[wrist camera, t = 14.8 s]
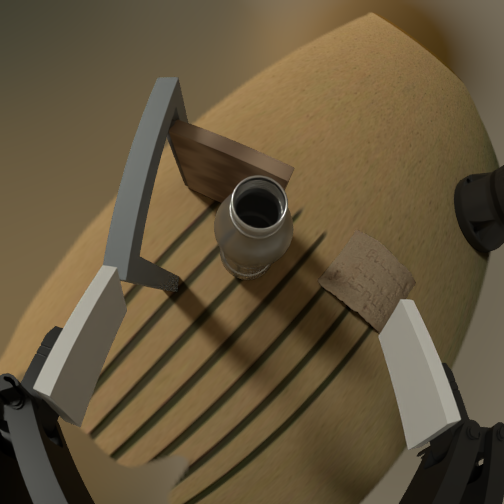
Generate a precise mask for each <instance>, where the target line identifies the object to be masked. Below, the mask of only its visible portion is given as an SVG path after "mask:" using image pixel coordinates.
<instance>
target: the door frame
mask: <svg viewBox="0 0 504 504" xmlns="http://www.w3.org/2000/svg"><path fill="white" fill-rule="evenodd" d="M172 119H173V120H174V121H176V120H177V119H178V120H180V121H183V122H186V123H188V119H187V115H186V110H185V106H184V101H183V97H182V93H181V88H180V83H179V78H177V77H170V78H158V79H157V81H156V83H155V85H154V88H153V90H152V93H151V95H150V98H149V100H148V103H147V105H146V108H145V110H144V113H143V115H142V118H141V121H140V124H139V126H138V129H137V132H136V135H135V138H134V141H133V144H132V147H131V150H130V153H129V156H128V160H127V163H126V166H125V170H124V173H123V177H122V180H121V184H120V188H119V191H118V195H117V199H116V203H115V207H114V212H113V216H112V221H111V225H110V230H109V235H108V240H107V245H106V251H105V256H104V262H103V265H105V266H112V267H117V269H118V274H119V279H120V281H124V282H129V283H133V284H137V285H142V286H146V287H151V288H156V289H160V290H166V291H173V292H177V289H178V281H179V276H177V275H175V274H173V273H171V272H169V271H167V270H165V269H163V268H161V267H159V266H157V265H155V264H153V263H151V262H149V261H147V260H145V259H144V258H142V257H140V250H141V244H142V239H143V233H144V228H145V223H146V218H147V213H148V208H149V204H150V199H151V195H152V190H153V186H154V182H155V178H156V174H157V170H158V166H159V162H160V158H161V155H162V151H163V148H164V144H165V141H166V137H167V134H168V130H169V127H170V124H171V121H172Z"/></svg>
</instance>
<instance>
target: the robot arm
mask: <svg viewBox="0 0 504 504" xmlns="http://www.w3.org/2000/svg"><path fill="white" fill-rule="evenodd" d="M454 205H455V211H456V216H457V219H458V223H459V225H460V228H461V230H462V232H463V234H464V236H465V237H466V239H467V240H468V242H469V243H470V244H471V245H472V246H473V247H474V248H475V249H476V250H478V251H480V252H489V251H493V250H495V249H497V248H499V247H500V246H501V245H502V244H503V243H504V165H503V166H502V167H500V168H498V169H497V170H495V171H493V172H490V173H481V174H472V175H469V176H467V177H465V178H463V179H462V180H460V181H459V183H458V184H457V186H456V189H455V194H454ZM126 312H127V308H126V304H125V300H124V296H123V292H122V287H121V283H120V279H119V274H118V269H117V267H112V266H105V265H103V266H102V267H101V269H100V270H99V271H98V273H97V274H96V276H95V277H94V279H93V281H92V282H91V284H90V285H89V287H88V288H87V290H86V291H85V293H84V295H83V296H82V298H81V299H80V301H79V303H78V304H77V306H76V308H75V309H74V311H73V313H72V314H71V316H70V318H69V319H68V321H67V323H66V325H65V326H64V328H60V327H57V326H55V327H54V328H53V329H52V330H50V331H49V332H48V333H47V334H46V336H45V338H44V339H43V341H42V343H41V346H40V347H39V348H38V350H37V354H35V356H34V358H33V360H32V362H31V364H30V366H29V368H28V370H27V372H26V374H25V376H24V378H23V380H22V381H21V383H20V382H19V381H18V380H17V379H16V378H15V377H14V376H13V375H11V374H9V373H7V374H2V375H0V504H95V503H94V501H93V500H92V498H91V496H90V494H89V492H88V490H87V488H86V486H85V485H84V482H83V480H82V478H81V476H80V474H79V472H78V470H77V468H76V465H75V463H74V461H73V459H72V456H71V454H70V452H69V449H68V447H67V444H66V441H65V439H64V436H63V434H62V431H61V428H60V425H59V423H58V421H57V420H58V417H59V416H60V417H61V418H62V419H63V420H65V421H66V422H69V423H71V424H73V425H76V426H78V427H81V424H82V421H83V418H84V415H85V412H86V410H87V407H88V404H89V401H90V398H91V396H92V393H93V390H94V388H95V385H96V382H97V380H98V377H99V375H100V372H101V369H102V367H103V364H104V362H105V360H106V357H107V355H108V352H109V350H110V348H111V345H112V343H113V341H114V338H115V336H116V334H117V331H118V329H119V327H120V325H121V322H122V320H123V318H124V316H125V314H126ZM378 337H379V340H380V343H381V346H382V349H383V353H384V356H385V359H386V363H387V366H388V369H389V373H390V376H391V380H392V384H393V387H394V391H395V395H396V399H397V403H398V407H399V411H400V415H401V419H402V424H403V428H404V433H405V438H406V442H407V447H408V450H410V449H414V448H418V447H421V446H423V445H425V444H426V443H428V442H430V446H429V447H427V448H425V449H424V450H422V451H421V452H419V453H418V455H417V456H421V455H422V454H424V453H425V454H424V456H422V457H421V459H422V461H421V463H420V465H419V467H418V470H417V471H416V473H415V475H414V477H413V479H412V481H411V483H410V485H409V486H408V489H407V490H406V492H405V494H404V495H403V497H402V499H401V501H400V502H399V504H502V502H503V497H504V424H503V423H502V422H498V423H497V424H495V425H494V426H493V427H491V428H487V427H480V426H479V424H478V423H477V422H476V421H474V420H470V419H469V417H468V415H467V412H466V409H465V406H464V403H463V400H462V397H461V394H460V391H459V390H458V386H457V384H456V383H455V378H454V376H453V373H452V371H451V369H450V368H449V367H448V365H447V364H446V363H441V361H440V359H439V356H438V354H437V351H436V349H435V347H434V344H433V342H432V340H431V337H430V335H429V333H428V331H427V329H426V326H425V324H424V322H423V320H422V318H421V316H420V314H419V312H418V309H417V307H416V305H415V303H414V301H413V300H406V299H401V300H400V301H399V303H398V305H397V307H396V308H395V310H394V312H393V313H392V315H391V317H390V318H389V320H388V322H387V323H386V325H385V327H384V328H383V330H382V331H381V333H380V335H379V336H378ZM482 459H484V461H483V464H482V465H480V466H479V464H478V462H479V461H480V460H482Z"/></svg>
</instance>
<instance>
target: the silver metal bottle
mask: <svg viewBox="0 0 504 504" xmlns="http://www.w3.org/2000/svg"><path fill="white" fill-rule="evenodd" d="M214 232H215V237H216V240H217V242H218V245H219V247H220V248H221V249H220V256H221V260H222V263H223V265H224V267H225V268H226V270H227V271H228V272H229V273H230V274H232V275H233V276H235V277H237V278H239V279H244V280H252V279H256V278H258V277H260V276H262V275H263V274H264V273H265V272H266V271H267V270H268V269H269V267H270V266H271V264H272V263H274V262H275V261H277V260H278V259H279V258H281V257H282V256H283V254H284V253H285V252H286V251H287V249H288V247H289V246H290V243H291V240H292V237H293V221H292V217H291V214H290V211H289V209H288V199H287V196H286V193H285V191H284V189H283V188H282V187H281V185H280V184H279V183H278V182H276V181H275V180H273V179H272V178H269V177H267V176H262V175H255V176H250V177H248V178H245V179H244V180H242V181H241V182H240V183H239V184H238V185H237V186H236V187H235V189H234V191H233V193H232V194H230V195H229V196H228V197H227V198H226V199H225V200H224V201H223V202H222V204H221V205H220V207H219V208H218V211H217V213H216V216H215V221H214Z"/></svg>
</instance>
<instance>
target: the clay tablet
mask: <svg viewBox="0 0 504 504" xmlns="http://www.w3.org/2000/svg"><path fill="white" fill-rule="evenodd" d="M318 282H319V283H320V284H321V286H322V287H324V289H326V290H328V291H330V292H331V293H332V294H333V295H336V296H337V298H338V299H339V300H341V301H343V302H344V303H345V304H346V305H347V306H349V307H350V308H351V309H352V310H354V311H357V312H358V313H359V314H360V315H361V316H362V317H363V318H365V320H366V322H369V323H370V324H371V325H372V326H373V327H374V328H375V329H376V330H377V331H378V333H379V334H380V333H381V331H382V330H383V328H384V327H385V325H386V323H387V322H388V320H389V318H390V317H391V315H392V313H393V312H394V310H395V308H396V307H397V305H398V303H399V301H400V300H401V299H406V298H407V296H408V293H409V292H410V291H411V290H412V288H413V287H414V286H415V283H416V282H415V280H414V278H413V277H412V274H411V272H408V269H407V268H406V267H405V266H404V265H403V264H401V263H399V262H398V259H397V258H395V257H394V256H393V255H392V253H391V252H390V251H389V250H387V249H386V248H385V246H384V245H382V244H381V243H380V242H379V241H377V240H376V239H374V238H372V237H371V236H368V235H367V234H366V233H363V232H360V231H359V230H358V231H357V230H355V233H354V235H353V236H352V237H351V239H350V240H349V242H348V243H347V244H346V246H345V247H344V248H343V250H342V251H341V253H340V254H339V255H338V256H337V258H336V259H335V260H334V261H333V262H332V264H331V265H330V266H329V267H328V269H327V270H326V271H325V272H324V274H323V275H322V276H321V277H320V278H319V279H318Z"/></svg>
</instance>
